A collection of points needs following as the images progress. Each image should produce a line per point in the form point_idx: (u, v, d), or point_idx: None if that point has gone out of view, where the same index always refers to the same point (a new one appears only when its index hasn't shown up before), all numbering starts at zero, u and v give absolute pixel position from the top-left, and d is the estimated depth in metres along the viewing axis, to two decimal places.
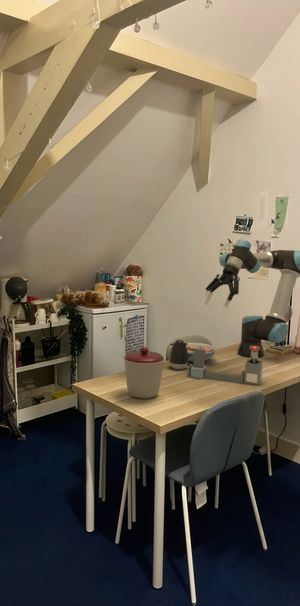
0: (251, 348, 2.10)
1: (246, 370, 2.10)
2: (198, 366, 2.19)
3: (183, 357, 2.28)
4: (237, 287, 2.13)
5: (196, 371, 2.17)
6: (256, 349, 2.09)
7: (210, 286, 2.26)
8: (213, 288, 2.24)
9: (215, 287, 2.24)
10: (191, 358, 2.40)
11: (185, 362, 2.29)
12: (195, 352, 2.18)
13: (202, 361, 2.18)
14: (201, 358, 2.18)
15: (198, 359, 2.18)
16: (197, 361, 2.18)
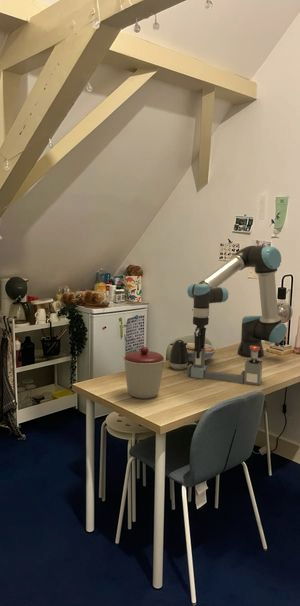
0: (251, 348, 2.10)
1: (246, 370, 2.10)
2: (198, 366, 2.19)
3: (183, 357, 2.28)
4: (197, 345, 2.13)
5: (196, 371, 2.17)
6: (256, 349, 2.09)
7: None
8: None
9: None
10: (191, 358, 2.40)
11: (185, 362, 2.29)
12: (195, 352, 2.18)
13: (202, 361, 2.18)
14: (201, 358, 2.18)
15: None
16: None
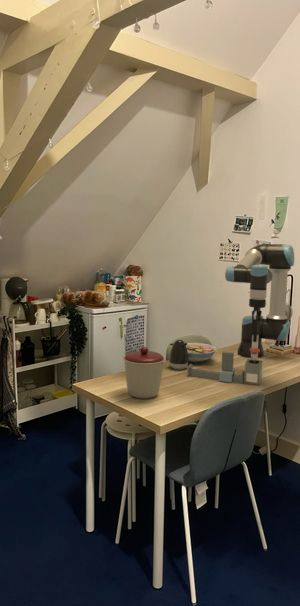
0: (251, 350, 2.10)
1: (246, 370, 2.10)
2: (226, 370, 2.14)
3: (183, 357, 2.28)
4: (255, 328, 2.05)
5: (225, 375, 2.12)
6: (256, 351, 2.09)
7: None
8: None
9: None
10: (191, 358, 2.40)
11: (185, 362, 2.29)
12: (223, 355, 2.13)
13: (231, 365, 2.13)
14: (229, 362, 2.13)
15: (226, 363, 2.13)
16: (226, 364, 2.13)
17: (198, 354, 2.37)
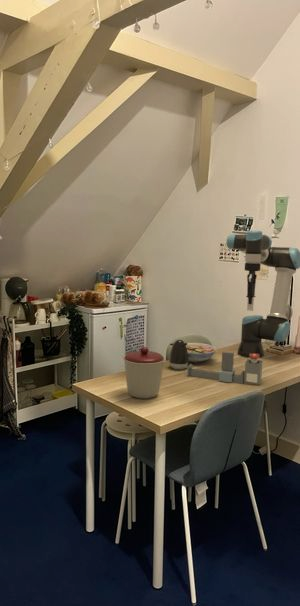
0: (251, 356, 2.10)
1: (246, 370, 2.10)
2: (226, 370, 2.14)
3: (183, 357, 2.28)
4: (250, 290, 2.16)
5: (225, 375, 2.12)
6: (256, 357, 2.09)
7: None
8: None
9: None
10: (191, 358, 2.40)
11: (185, 362, 2.29)
12: (223, 355, 2.13)
13: (231, 365, 2.13)
14: (229, 362, 2.13)
15: (226, 363, 2.13)
16: (226, 364, 2.13)
17: (198, 354, 2.37)
